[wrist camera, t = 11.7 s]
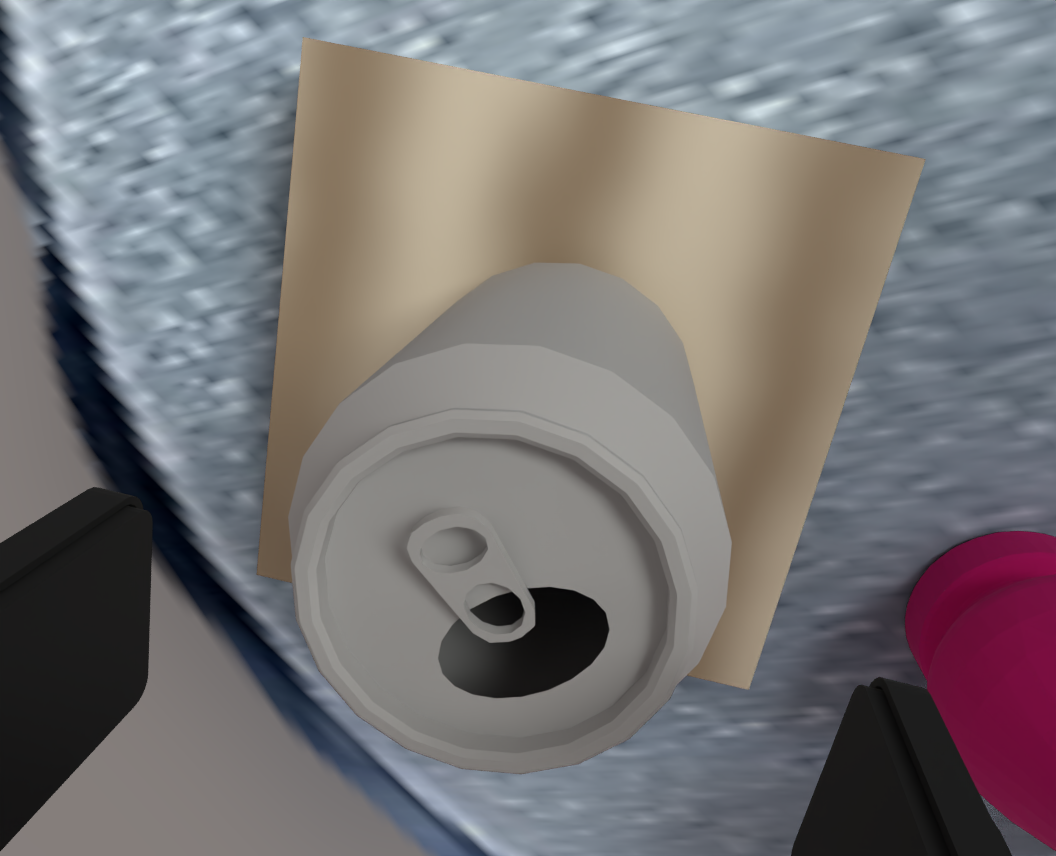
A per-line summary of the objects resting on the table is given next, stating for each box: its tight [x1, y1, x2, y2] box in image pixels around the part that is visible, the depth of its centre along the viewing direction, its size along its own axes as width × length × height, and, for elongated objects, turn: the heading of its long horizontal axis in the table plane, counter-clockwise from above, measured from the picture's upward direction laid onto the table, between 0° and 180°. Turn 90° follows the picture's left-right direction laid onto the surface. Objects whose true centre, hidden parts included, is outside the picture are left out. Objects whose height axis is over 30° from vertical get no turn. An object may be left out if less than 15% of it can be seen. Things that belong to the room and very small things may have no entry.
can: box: [288, 263, 732, 774], centre depth 18 cm, size 8×8×12 cm
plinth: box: [257, 37, 925, 690], centre depth 25 cm, size 16×16×3 cm
